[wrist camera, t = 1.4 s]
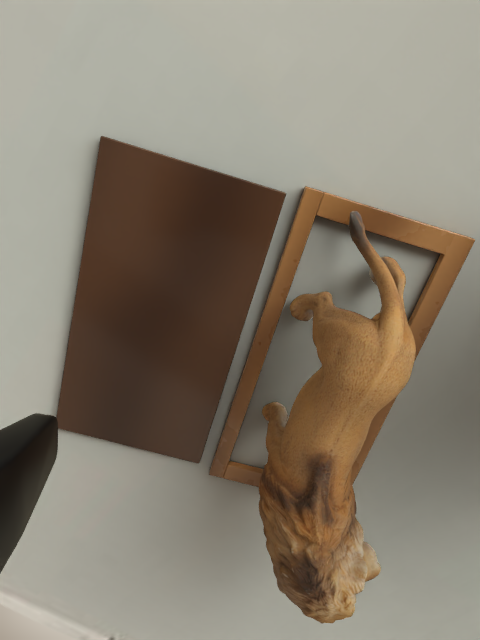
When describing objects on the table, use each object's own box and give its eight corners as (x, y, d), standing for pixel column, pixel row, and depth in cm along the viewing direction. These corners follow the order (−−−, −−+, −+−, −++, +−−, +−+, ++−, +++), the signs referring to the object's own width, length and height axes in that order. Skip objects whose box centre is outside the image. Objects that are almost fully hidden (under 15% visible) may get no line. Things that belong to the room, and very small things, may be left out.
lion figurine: (344, 475, 25) (390, 651, 16) (250, 467, 25) (250, 640, 16) (409, 214, 19) (533, 286, 10) (285, 201, 19) (312, 265, 10)
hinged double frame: (471, 237, 19) (475, 239, 19) (339, 502, 25) (341, 508, 25) (104, 123, 18) (101, 122, 18) (55, 431, 24) (52, 436, 23)
